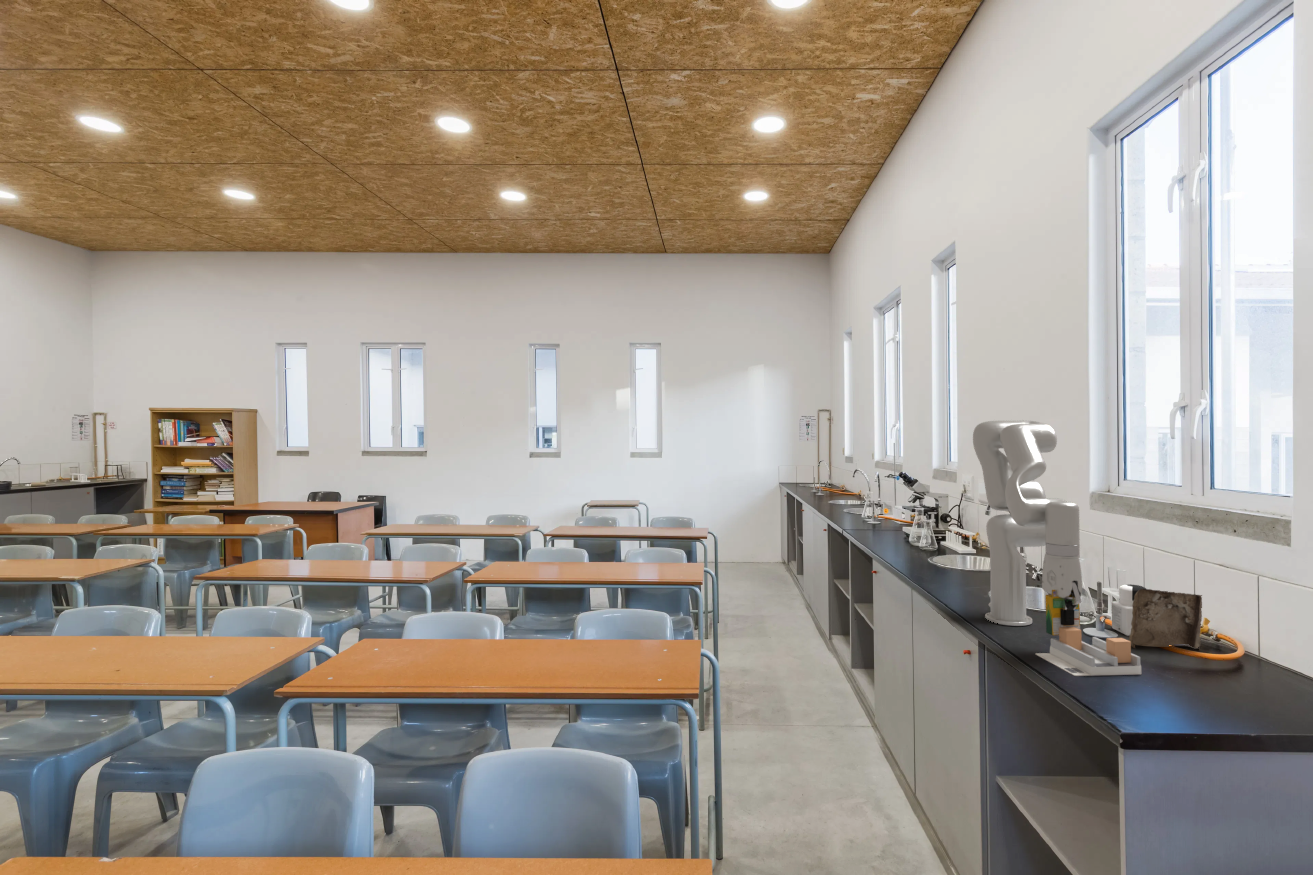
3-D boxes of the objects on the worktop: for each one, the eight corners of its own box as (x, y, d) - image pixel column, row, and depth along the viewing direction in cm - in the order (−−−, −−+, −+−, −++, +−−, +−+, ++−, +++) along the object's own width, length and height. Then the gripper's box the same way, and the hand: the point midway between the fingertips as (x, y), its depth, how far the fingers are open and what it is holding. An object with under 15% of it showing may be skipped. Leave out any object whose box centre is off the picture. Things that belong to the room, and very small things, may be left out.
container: (1140, 628, 201) (1139, 582, 201) (1156, 636, 194) (1156, 588, 194) (1111, 628, 202) (1110, 582, 202) (1126, 635, 194) (1126, 588, 194)
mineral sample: (1132, 648, 183) (1132, 590, 183) (1124, 644, 187) (1124, 586, 187) (1204, 651, 181) (1204, 591, 181) (1195, 646, 185) (1194, 588, 185)
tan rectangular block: (1059, 646, 178) (1059, 627, 178) (1074, 646, 178) (1073, 626, 178) (1066, 650, 175) (1066, 630, 175) (1081, 649, 175) (1081, 630, 175)
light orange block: (1106, 658, 168) (1106, 638, 168) (1122, 658, 169) (1121, 637, 169) (1115, 662, 165) (1114, 641, 165) (1130, 662, 166) (1130, 641, 166)
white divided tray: (1035, 654, 180) (1035, 638, 180) (1096, 652, 180) (1096, 637, 180) (1074, 675, 164) (1074, 658, 164) (1141, 674, 164) (1141, 657, 164)
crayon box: (1073, 631, 181) (1072, 586, 181) (1080, 634, 178) (1080, 588, 178) (1045, 632, 181) (1044, 587, 181) (1052, 635, 178) (1051, 589, 178)
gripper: (1029, 545, 188) (1030, 614, 188) (1067, 556, 171) (1068, 632, 171) (1057, 545, 188) (1058, 614, 188) (1098, 555, 171) (1098, 631, 172)
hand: (1062, 622), depth 180 cm, fingers closed on crayon box, 3 cm apart
